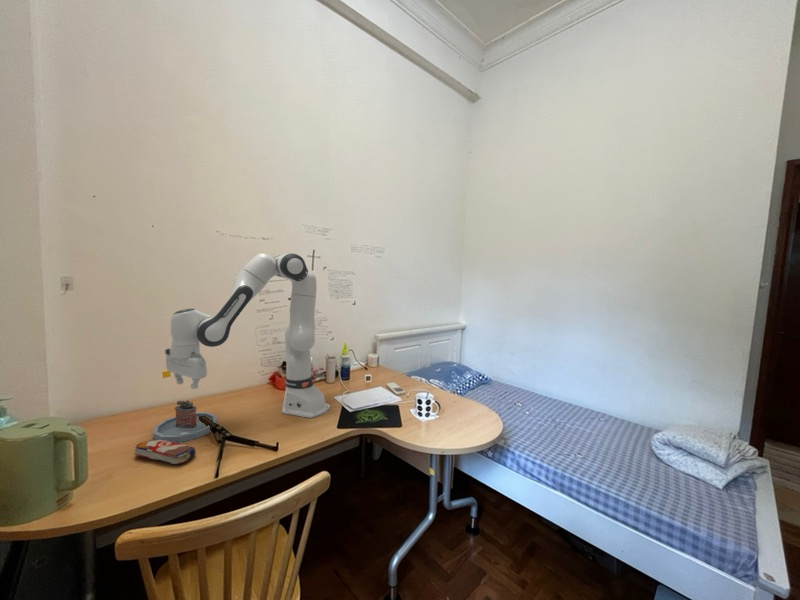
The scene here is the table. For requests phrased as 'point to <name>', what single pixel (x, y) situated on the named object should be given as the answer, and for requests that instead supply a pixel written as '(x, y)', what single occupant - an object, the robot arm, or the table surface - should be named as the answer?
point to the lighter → (185, 414)
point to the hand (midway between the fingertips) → (187, 385)
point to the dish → (182, 429)
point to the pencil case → (165, 451)
